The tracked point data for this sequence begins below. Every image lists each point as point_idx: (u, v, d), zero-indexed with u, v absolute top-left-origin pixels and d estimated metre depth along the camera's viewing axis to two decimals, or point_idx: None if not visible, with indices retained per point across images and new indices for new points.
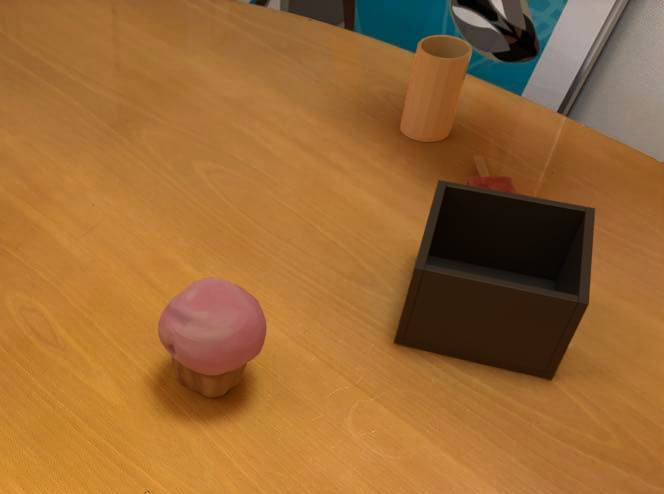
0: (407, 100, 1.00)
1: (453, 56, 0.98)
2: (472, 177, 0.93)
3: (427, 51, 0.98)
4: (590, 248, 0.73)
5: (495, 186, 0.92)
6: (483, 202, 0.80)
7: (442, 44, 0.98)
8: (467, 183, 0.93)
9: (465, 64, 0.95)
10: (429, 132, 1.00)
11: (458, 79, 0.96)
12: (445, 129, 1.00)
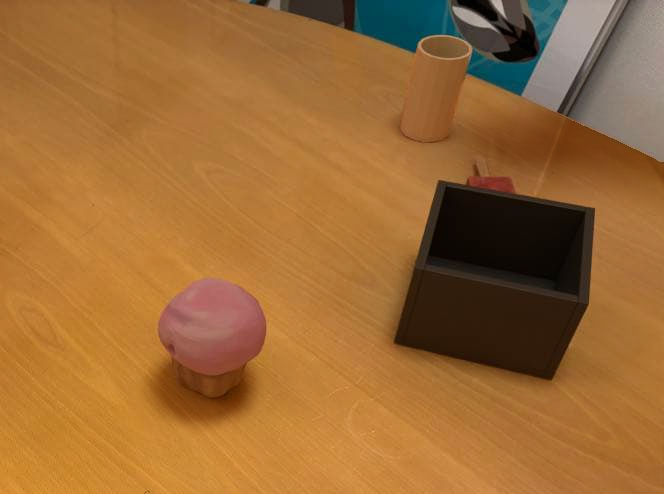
0: (407, 100, 1.00)
1: (453, 56, 0.98)
2: (472, 177, 0.93)
3: (427, 51, 0.98)
4: (590, 248, 0.73)
5: (495, 186, 0.92)
6: (483, 202, 0.80)
7: (442, 44, 0.98)
8: (467, 183, 0.93)
9: (465, 64, 0.95)
10: (429, 132, 1.00)
11: (458, 79, 0.96)
12: (445, 129, 1.00)
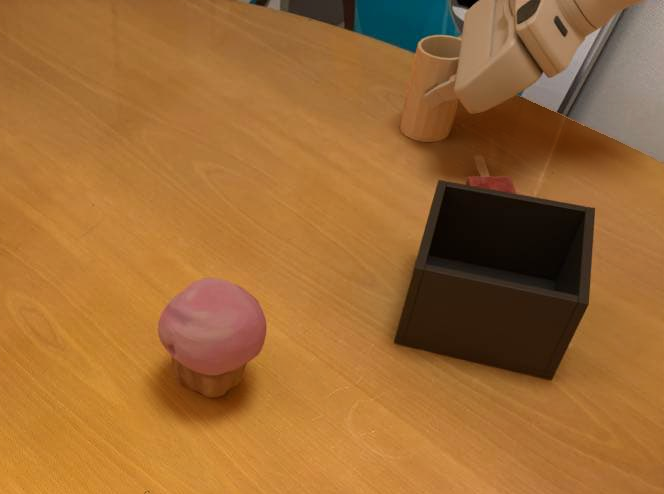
0: (407, 100, 1.00)
1: (453, 56, 0.98)
2: (472, 177, 0.93)
3: (427, 51, 0.98)
4: (590, 248, 0.73)
5: (495, 186, 0.92)
6: (483, 202, 0.80)
7: (442, 44, 0.98)
8: (468, 183, 0.93)
9: None
10: (429, 132, 1.00)
11: None
12: (445, 129, 1.00)
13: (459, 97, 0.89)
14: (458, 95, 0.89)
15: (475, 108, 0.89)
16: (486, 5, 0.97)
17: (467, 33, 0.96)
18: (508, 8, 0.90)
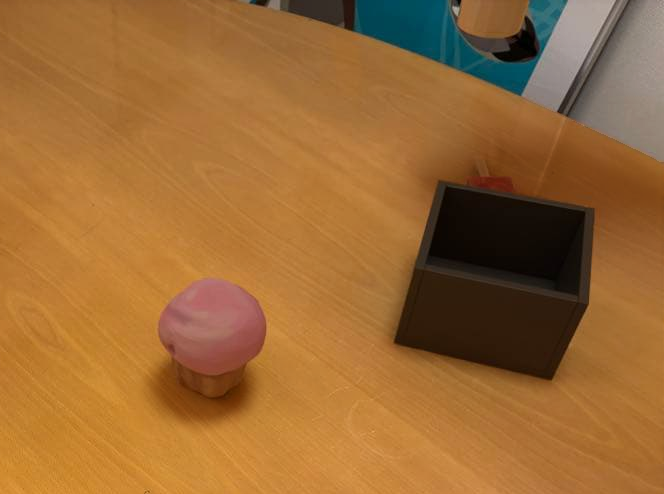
0: None
1: None
2: (472, 177, 0.93)
3: None
4: (590, 248, 0.73)
5: (495, 186, 0.92)
6: (483, 202, 0.80)
7: None
8: (468, 183, 0.93)
9: None
10: (496, 24, 0.79)
11: None
12: (517, 21, 0.79)
13: None
14: None
15: None
16: None
17: None
18: None
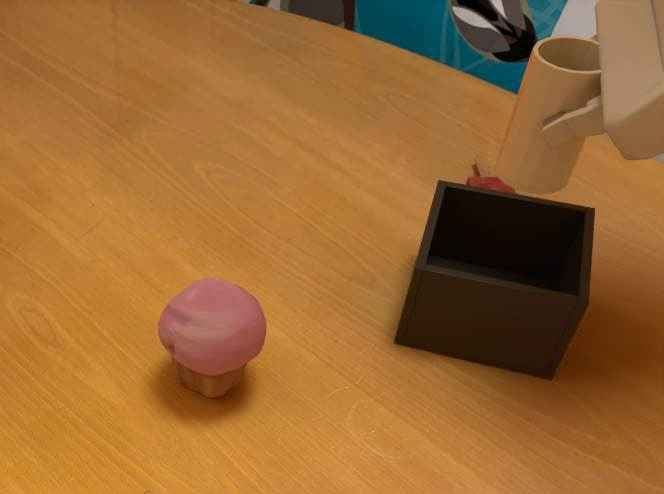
0: (510, 132, 0.67)
1: (582, 67, 0.65)
2: (472, 177, 0.93)
3: None
4: (590, 248, 0.73)
5: (495, 186, 0.92)
6: (483, 202, 0.80)
7: (567, 49, 0.65)
8: (468, 183, 0.93)
9: None
10: (543, 180, 0.67)
11: None
12: (566, 175, 0.68)
13: (612, 135, 0.57)
14: (611, 132, 0.57)
15: (638, 153, 0.57)
16: None
17: (608, 34, 0.63)
18: None
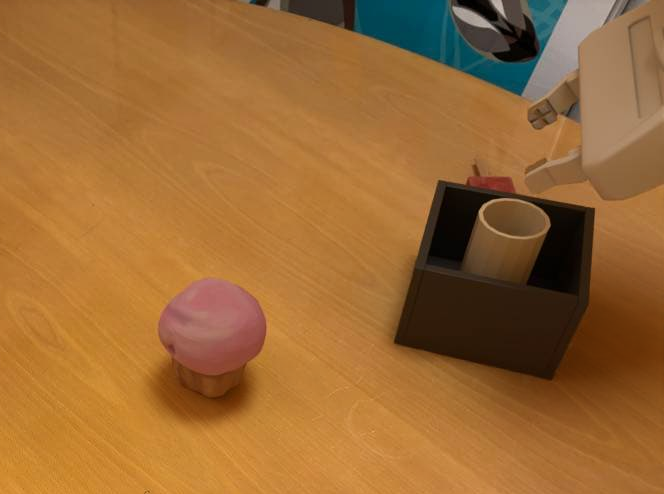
0: None
1: (522, 224, 0.76)
2: (472, 177, 0.93)
3: (489, 217, 0.76)
4: (590, 248, 0.73)
5: (495, 186, 0.92)
6: (483, 202, 0.80)
7: (509, 209, 0.76)
8: (468, 183, 0.93)
9: (541, 242, 0.73)
10: None
11: (531, 259, 0.74)
12: None
13: (590, 177, 0.59)
14: (589, 174, 0.59)
15: (614, 194, 0.59)
16: (615, 35, 0.67)
17: (589, 76, 0.66)
18: (663, 43, 0.60)
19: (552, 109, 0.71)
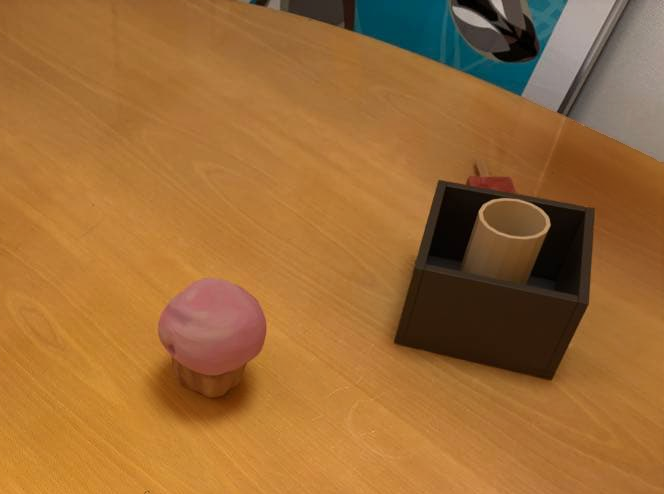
0: None
1: (522, 224, 0.76)
2: (472, 177, 0.93)
3: (489, 217, 0.76)
4: (590, 248, 0.73)
5: (495, 186, 0.92)
6: (483, 202, 0.80)
7: (509, 209, 0.76)
8: (468, 183, 0.93)
9: (541, 242, 0.73)
10: None
11: (531, 259, 0.74)
12: None
13: None
14: None
15: None
16: None
17: None
18: None
19: None
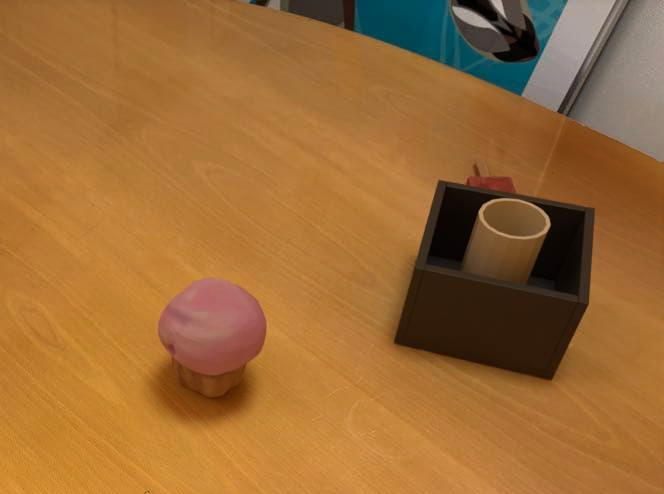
0: None
1: (522, 224, 0.76)
2: (473, 177, 0.93)
3: (489, 217, 0.76)
4: (590, 248, 0.73)
5: (495, 186, 0.92)
6: (483, 202, 0.80)
7: (509, 209, 0.76)
8: (468, 183, 0.93)
9: (541, 242, 0.73)
10: None
11: (531, 259, 0.74)
12: None
13: None
14: None
15: None
16: None
17: None
18: None
19: None
